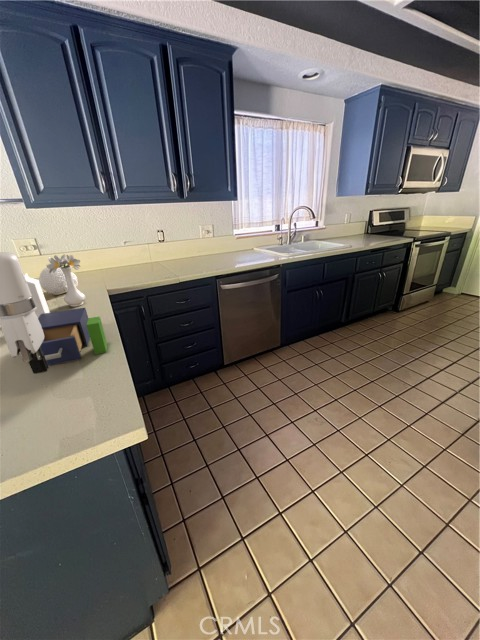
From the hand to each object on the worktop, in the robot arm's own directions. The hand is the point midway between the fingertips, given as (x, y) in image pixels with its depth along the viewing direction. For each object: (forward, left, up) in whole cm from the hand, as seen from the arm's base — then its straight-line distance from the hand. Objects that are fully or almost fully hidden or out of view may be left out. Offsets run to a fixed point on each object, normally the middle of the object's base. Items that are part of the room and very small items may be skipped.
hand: (41, 370), depth 70 cm
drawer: (0, +16, -5) cm, 17 cm away
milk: (-12, +50, -6) cm, 52 cm away
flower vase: (-3, +74, -6) cm, 74 cm away
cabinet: (0, +30, -6) cm, 31 cm away
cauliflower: (-14, +101, -6) cm, 102 cm away
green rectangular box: (+12, +18, -6) cm, 22 cm away
